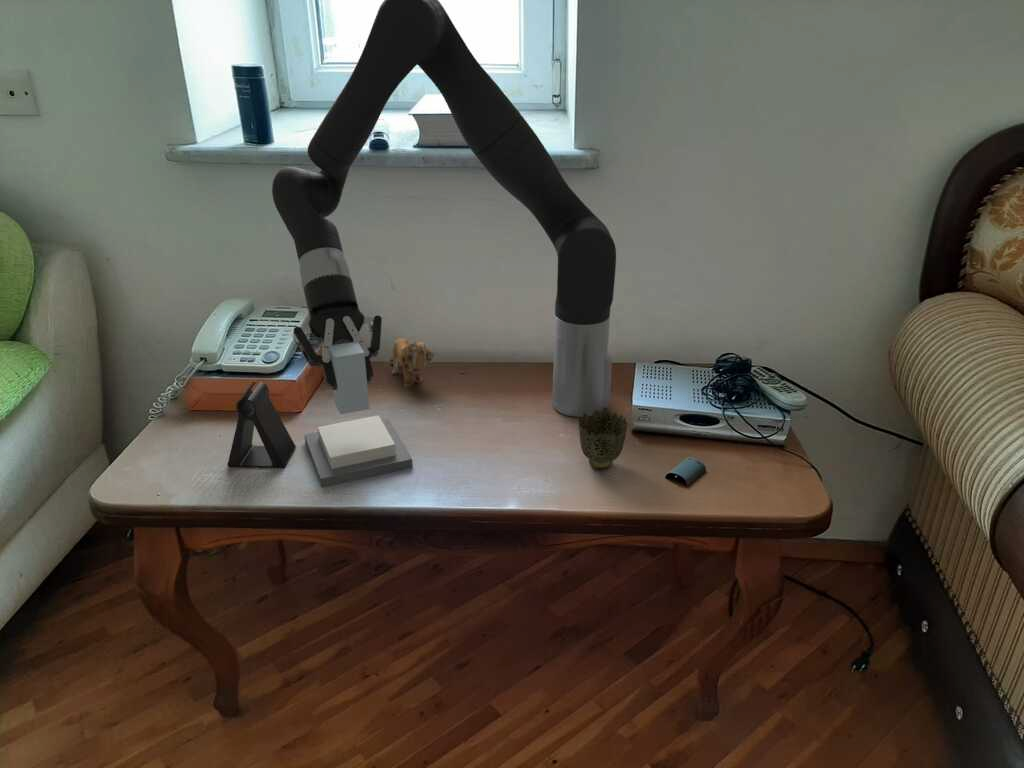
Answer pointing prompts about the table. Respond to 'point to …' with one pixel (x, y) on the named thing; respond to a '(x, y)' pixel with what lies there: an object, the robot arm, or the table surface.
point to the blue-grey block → (349, 377)
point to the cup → (602, 437)
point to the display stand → (356, 450)
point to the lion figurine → (410, 358)
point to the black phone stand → (259, 432)
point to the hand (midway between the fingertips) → (351, 385)
